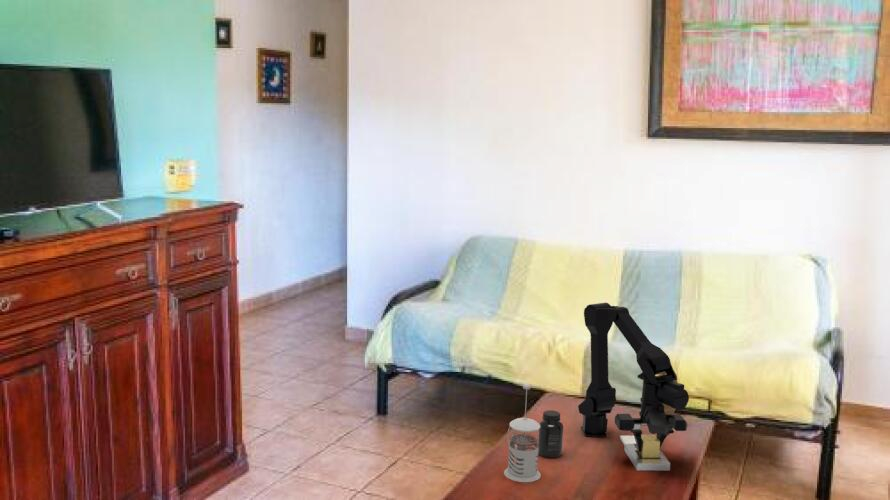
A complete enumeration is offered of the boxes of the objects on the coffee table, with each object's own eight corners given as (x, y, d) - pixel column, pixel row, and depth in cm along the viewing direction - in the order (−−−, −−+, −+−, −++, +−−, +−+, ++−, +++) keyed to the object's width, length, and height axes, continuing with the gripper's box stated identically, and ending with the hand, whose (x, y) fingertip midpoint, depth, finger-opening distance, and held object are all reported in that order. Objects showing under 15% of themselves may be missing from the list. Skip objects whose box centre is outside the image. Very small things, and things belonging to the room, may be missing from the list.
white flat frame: (637, 470, 224) (637, 463, 224) (624, 450, 237) (624, 443, 237) (669, 470, 225) (670, 463, 224) (655, 450, 237) (655, 443, 237)
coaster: (627, 449, 237) (627, 446, 237) (619, 438, 245) (620, 435, 245) (654, 449, 238) (654, 447, 238) (646, 438, 246) (646, 435, 246)
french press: (516, 485, 214) (521, 392, 209) (493, 466, 224) (497, 378, 219) (548, 478, 218) (553, 387, 213) (524, 460, 228) (528, 373, 224)
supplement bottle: (564, 451, 235) (567, 411, 233) (557, 460, 229) (560, 419, 227) (541, 446, 238) (544, 406, 235) (534, 455, 232) (536, 414, 229)
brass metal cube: (641, 465, 227) (643, 441, 226) (636, 458, 232) (638, 434, 231) (658, 465, 228) (660, 441, 226) (653, 458, 232) (655, 434, 231)
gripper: (626, 408, 218) (622, 463, 221) (696, 409, 219) (691, 464, 222) (616, 393, 229) (612, 446, 232) (682, 394, 230) (677, 447, 233)
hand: (648, 451), depth 229 cm, fingers closed on brass metal cube, 5 cm apart
